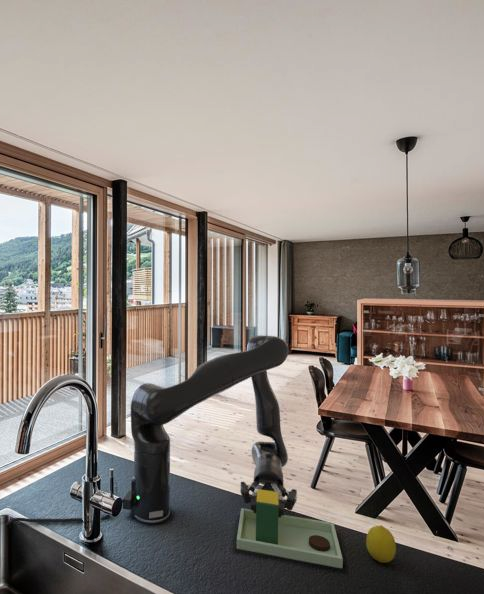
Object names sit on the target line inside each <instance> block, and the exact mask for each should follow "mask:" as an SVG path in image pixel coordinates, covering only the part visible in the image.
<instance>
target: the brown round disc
mask: <svg viewBox="0 0 484 594" xmlns="http://www.w3.org/2000/svg"><path fill="white" fill-rule="evenodd" d="M309 545H310V546H311V547H312V548H313V549H315V550H317V551H322V552H324V551H328V550H329V549H330V542H329V541H328V540H327V539H326V538H324V537H322V536H318V535H313V536H310V537H309Z"/></svg>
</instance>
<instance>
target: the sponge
mask: <svg viewBox="0 0 484 594" xmlns="http://www.w3.org/2000/svg"><path fill="white" fill-rule="evenodd" d="M278 512H279V500H278V492H274V491H267V490H261V489H258V490H257V502H256V541H260V542H265V543H271V544H276V545H278Z"/></svg>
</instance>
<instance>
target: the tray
mask: <svg viewBox="0 0 484 594" xmlns="http://www.w3.org/2000/svg"><path fill="white" fill-rule="evenodd" d="M335 527H336V526H335V523H334V522H330V521H325V520H317V519H313V518H312V519H311V518H305V517H299V516H293V515H287V514H284V516H282V515H281V518H280V517H278V545H276V544H271V543H265V542H260V541H256V513H254V511H251V508H243V507H241V508H240V515H239V522H238V528H237V533H236V534H237V535H236V549H237V550H243V551H249V552H252V553H253V552H254V553H259V554H263V555H269V556H275V557H278V558H279V557H280V558H285V559H291V560H294V561H299V562H305V563H312V564H316V565H321V566H326V567H327V566H328V567H331V568H332V567H333V568H337V569H343V568H344V567H343V565H344V564H343V563H344V558H343V554H342V551H341V547H340V543H339V539H338V535H337V531H336V528H335ZM313 535H318V536H322V537H324V538H326V539H327V540H328V541H329V542H330V549H329V550H328V551H324V552H322V551H317V550H315V549H313V548H312V547H311V546H310V545H309V537H310V536H313Z"/></svg>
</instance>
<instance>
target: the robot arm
mask: <svg viewBox="0 0 484 594" xmlns="http://www.w3.org/2000/svg"><path fill="white" fill-rule="evenodd" d="M289 350H290V349H289V345H288V343H287V341H286V340H284V338H281V337H279V336H275V335H261V334H260V335H259V334H258V335H254V336H252V337H251V338H249V340H248V342H247V345H246V350H245V351H240V352H239V351H238V352H233V353H228V354H223V355H219V356H216V357H214V358H212V359H209V360H207V361H204V362H203V363H201V364H200V365H198V366H197V367H196V368H195V370H194V371H193V372H192V373H191V375H190V376H189V377H188V378H187V379H186V380H184V381H181V382H180V383H177V384H174V385H172V386H168V387H162V386H159V385H156V384H154V383H151V382H145V383H142V384H140V385H138V386H137V387H136V388H135V389H134V391H133V393H132V396H131V400H130V430H131V431H130V432H131V437H132V439H133V452H134V453H133V477H132V478H131V480H130V482H131V483H130V485H131V486H130V490H128V491H127V492H126V494H124V497H123V498H122V499H121V500H122V510H127V511H130V517H131V518H135V520H136V521H139V522H140V523H143V524H148V525H149V524H150V525H156V524H160V523H163V522H166V521H167V520H168V519H169V517H170V516H171V510H170V508H171V506H170V501H171V500H170V499H171V498H170V496H171V495H170V493H171V492H170V491H171V438H170V437H171V436H170V435H169V434H168V432H167V431H166V428H165V426H164V425H166V424H169V423H170V422H172V421H174V420H175V419H177V418H178V417H180V416H182V415H183V414H184V413H185V412H187V411H189V410H190V409H192V408H193V407H195V406H197V405H198V404H201V403H203V402H205V401H207V400H208V399H211V398H212V397H214V396H217V395H219V394H221V393H223V392H225V391H227V390H229V389H231V388H233V387H235V386H237V385H238V384H240V383H242V382H245V381H247V380H248V379H251V383H252V389H253V393H254V401H255V420H256V421H255V422H256V423H255V424H256V431H257V433H258V434H260V435H262V436H264V437H268V438H270V439H272V440H273V441H256V442H255V443H253V445H252V447H251V459H252V461H253V464H254V465H255V468H254V472H253V482H252V483H251V484H247V483H246V482H245V481H241V482H240V491H239V492H240V495H241V498H242V501H243V503H244V504H250V510H251V511H254V513H256V502H257V490H258V489H261V490H267V491H274V492H278V500H279V512H278V517H280V518H281V515H282V516H284V515H285V509H286V510H287V511H292V510H293V508H294V506H295V505H296V502H297V498H298V491H297V489H295V488H292V489H291V490H287V489H286V487H285V486H284V483H285V481H284V472H283V467H286V465H287V464H288V462H289V455H288V451H287V448H286V445H285V441H284V439H283V435H282V429H281V410H280V409H281V408H280V405H279V401H278V399H277V397H276V394H275V392H274V390H273V388H272V385H271V383H270V380H269V377H268V376H269V375H268V371H269V370H272V369H274V368H275V369H276V368H278V367H280V366H281V365H283V364H284V362H285V361H286V360H287V358H288V356H289ZM250 492H251V493H250ZM285 497H286V499H285ZM108 514H109V513H107V514H106V515H104V516H102V517H100V518H101V520H100V521H103V520H106V519H108V518H110V517H111V516H110V515H108ZM82 518H83V517H81V518H80V517H72V518H27V517H14V518H12V519H10V520H8V521H7V522H6V523H5V527H7V526H10V525H11V524H12V523H14V522H24V523H71V522H78V523H79V522H82V523H84V522H83V520H82Z"/></svg>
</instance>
